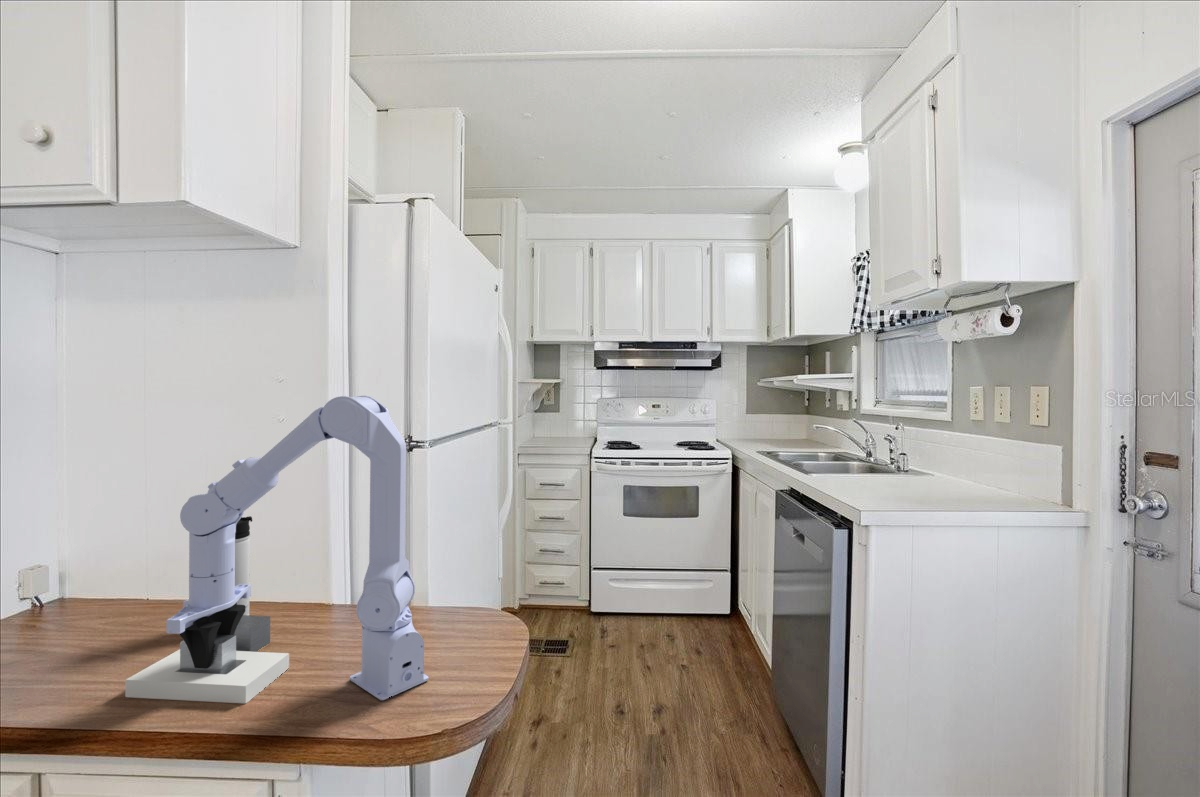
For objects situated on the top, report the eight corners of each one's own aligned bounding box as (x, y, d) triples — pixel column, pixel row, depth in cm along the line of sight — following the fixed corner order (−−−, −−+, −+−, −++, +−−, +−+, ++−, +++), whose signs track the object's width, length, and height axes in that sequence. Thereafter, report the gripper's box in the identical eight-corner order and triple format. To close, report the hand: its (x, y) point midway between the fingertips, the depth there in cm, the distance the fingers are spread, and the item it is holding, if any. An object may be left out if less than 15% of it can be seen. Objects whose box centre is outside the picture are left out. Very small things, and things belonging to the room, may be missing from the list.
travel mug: (250, 627, 105) (251, 520, 105) (207, 635, 102) (208, 524, 101) (252, 615, 110) (253, 513, 110) (211, 622, 107) (212, 517, 107)
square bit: (270, 644, 98) (270, 616, 98) (250, 658, 93) (250, 628, 93) (242, 643, 99) (242, 615, 99) (221, 657, 94) (221, 627, 94)
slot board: (289, 669, 90) (289, 653, 90) (245, 703, 80) (245, 686, 80) (181, 663, 91) (181, 648, 91) (125, 697, 81) (125, 679, 81)
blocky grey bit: (236, 674, 87) (236, 635, 87) (221, 684, 84) (221, 643, 84) (195, 672, 87) (195, 633, 87) (180, 682, 84) (180, 642, 84)
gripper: (222, 556, 93) (221, 639, 93) (145, 587, 78) (145, 684, 78) (263, 558, 92) (262, 641, 92) (194, 589, 78) (193, 687, 78)
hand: (211, 661), depth 85 cm, fingers closed on blocky grey bit, 3 cm apart
